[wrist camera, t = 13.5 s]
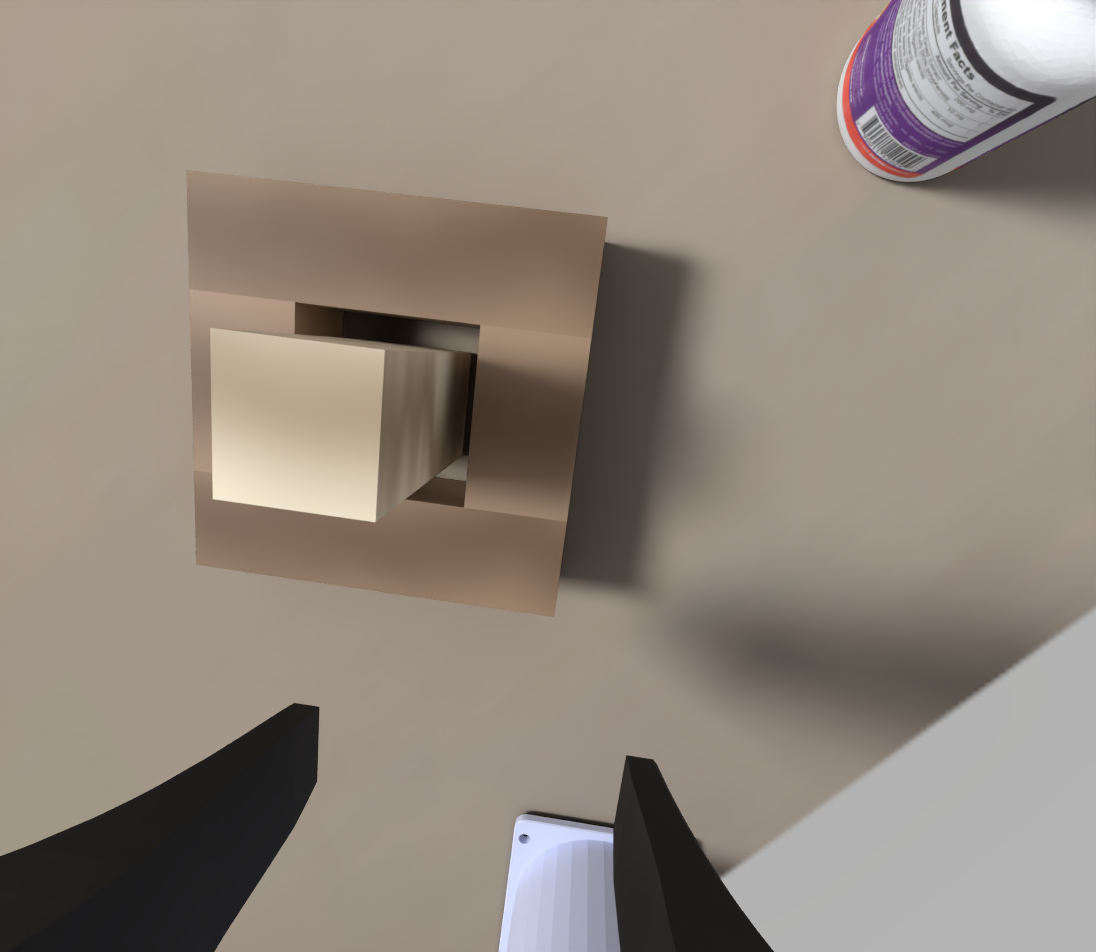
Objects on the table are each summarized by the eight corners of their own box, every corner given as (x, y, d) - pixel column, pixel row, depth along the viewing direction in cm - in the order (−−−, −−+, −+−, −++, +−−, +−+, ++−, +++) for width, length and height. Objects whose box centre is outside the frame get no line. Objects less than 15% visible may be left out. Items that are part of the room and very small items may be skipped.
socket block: (559, 577, 22) (554, 616, 19) (254, 533, 23) (196, 564, 20) (604, 241, 20) (607, 217, 16) (254, 202, 20) (186, 170, 17)
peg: (462, 455, 22) (375, 522, 13) (364, 441, 22) (212, 499, 13) (471, 352, 21) (384, 349, 12) (368, 339, 21) (210, 327, 12)
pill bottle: (1002, -19, 17) (1521, -489, 8) (1005, 166, 18) (1462, -43, 9) (823, 24, 18) (1097, -362, 8) (836, 201, 19) (1090, 42, 9)
